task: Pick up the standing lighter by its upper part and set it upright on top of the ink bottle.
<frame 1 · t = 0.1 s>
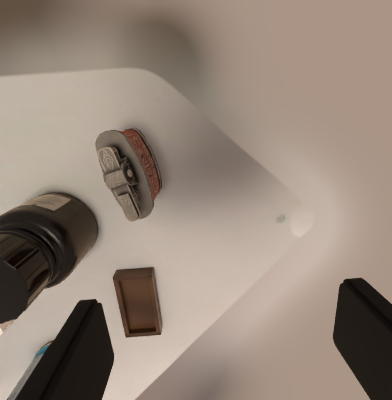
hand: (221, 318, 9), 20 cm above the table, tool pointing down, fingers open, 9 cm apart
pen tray: (140, 299, 34), on the table
beverage bottle: (66, 358, 37), on the table
lighter: (142, 163, 28), on the table
ink bottle: (63, 225, 30), on the table
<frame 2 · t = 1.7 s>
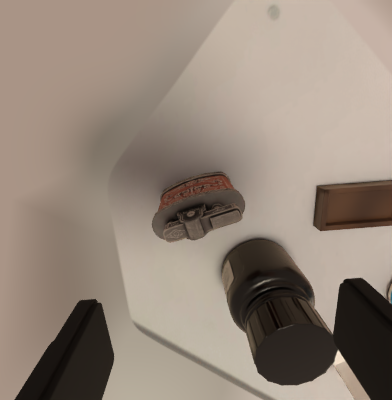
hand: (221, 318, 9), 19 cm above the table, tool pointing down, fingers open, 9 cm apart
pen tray: (356, 202, 28), on the table
white l-shaped piece: (346, 350, 36), on the table
lighter: (195, 190, 27), on the table
ink bottle: (255, 267, 31), on the table
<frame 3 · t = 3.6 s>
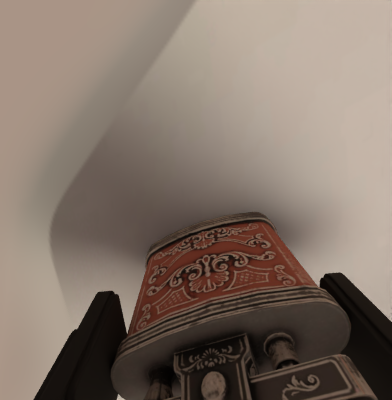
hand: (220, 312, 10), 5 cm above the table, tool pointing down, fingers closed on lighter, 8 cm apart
lighter: (209, 244, 15), on the table, touching gripper
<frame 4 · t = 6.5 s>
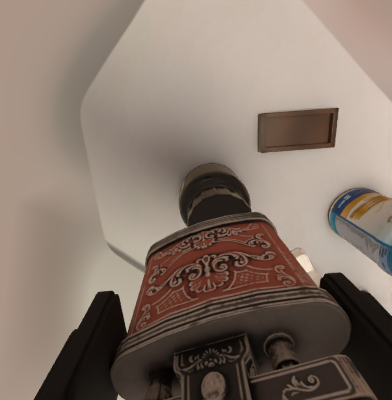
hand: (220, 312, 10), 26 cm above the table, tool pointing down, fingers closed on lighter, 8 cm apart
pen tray: (294, 130, 33), on the table
beverage bottle: (352, 211, 37), on the table
white l-shaped piece: (297, 275, 41), on the table
lighter: (209, 244, 15), point 21 cm above the table, touching gripper
ink bottle: (210, 192, 36), on the table
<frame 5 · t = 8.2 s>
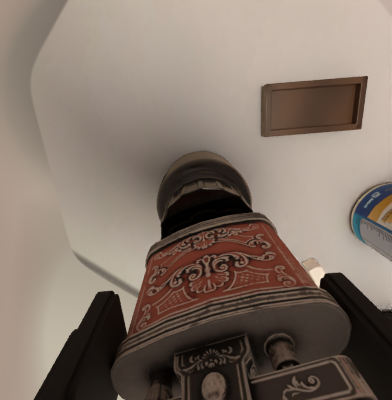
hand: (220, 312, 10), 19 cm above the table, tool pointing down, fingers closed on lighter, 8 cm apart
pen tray: (307, 108, 26), on the table
beverage bottle: (380, 213, 30), on the table
white l-shaped piece: (309, 291, 33), on the table
lighter: (209, 244, 15), point 14 cm above the table, touching gripper
ink bottle: (201, 188, 28), on the table
when the fingers open (18 cm above the table, at t = 9.4 s): lighter stays where it is, resting on ink bottle.
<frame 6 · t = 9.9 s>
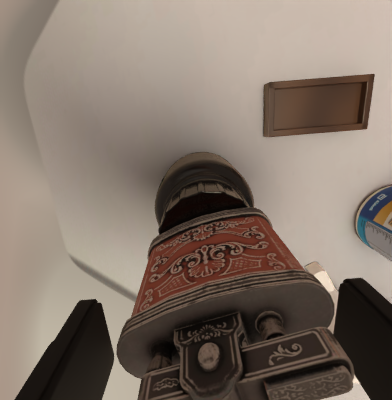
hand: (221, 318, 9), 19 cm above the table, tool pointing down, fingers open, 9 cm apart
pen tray: (311, 107, 25), on the table
beverage bottle: (385, 215, 29), on the table
white l-shaped piece: (312, 295, 32), on the table
lighter: (208, 237, 16), point 12 cm above the table, touching ink bottle
ink bottle: (201, 190, 27), on the table, touching lighter
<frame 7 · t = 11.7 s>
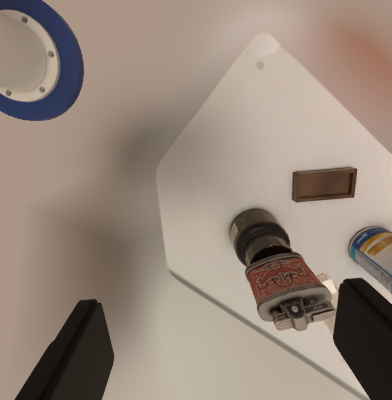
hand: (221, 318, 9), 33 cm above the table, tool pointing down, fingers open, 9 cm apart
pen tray: (321, 183, 42), on the table
beverage bottle: (368, 244, 46), on the table
white l-shaped piece: (322, 295, 49), on the table
lighter: (273, 265, 33), point 12 cm above the table, touching ink bottle
ink bottle: (253, 230, 45), on the table, touching lighter
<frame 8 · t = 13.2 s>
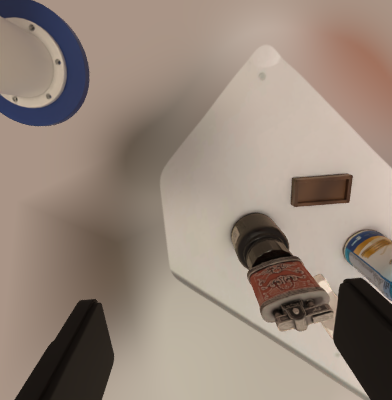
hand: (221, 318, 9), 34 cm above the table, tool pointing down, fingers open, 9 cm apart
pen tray: (318, 189, 44), on the table
beverage bottle: (362, 246, 48), on the table
white l-shaped piece: (318, 295, 51), on the table
lighter: (273, 268, 35), point 12 cm above the table, touching ink bottle
ink bottle: (253, 233, 46), on the table, touching lighter
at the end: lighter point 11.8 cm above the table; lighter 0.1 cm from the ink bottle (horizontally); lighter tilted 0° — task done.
